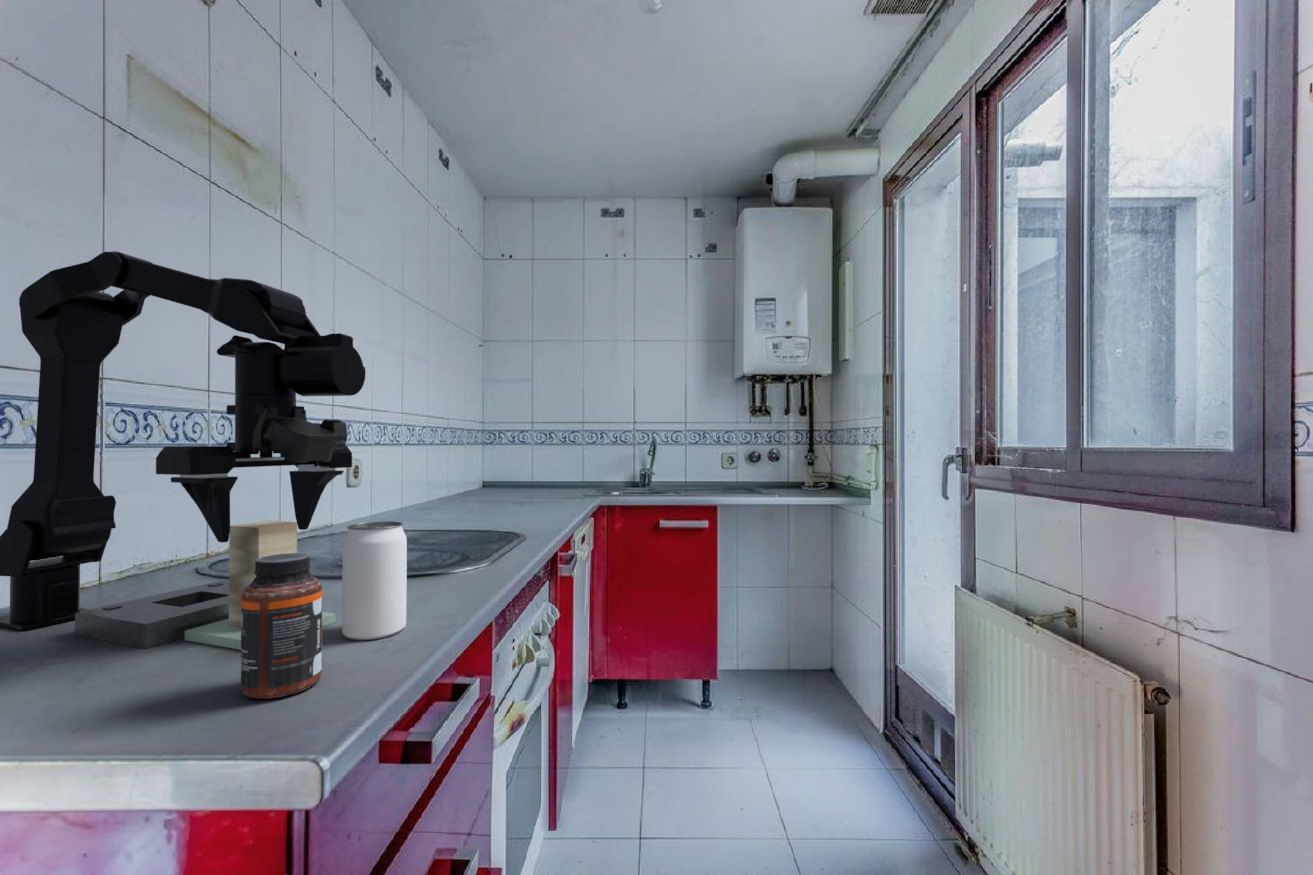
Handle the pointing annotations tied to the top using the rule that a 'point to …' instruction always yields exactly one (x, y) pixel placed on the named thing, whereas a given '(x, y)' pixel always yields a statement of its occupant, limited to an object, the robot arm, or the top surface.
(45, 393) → the robot arm
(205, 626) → the pad
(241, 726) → the top surface
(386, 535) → the can
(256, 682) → the supplement bottle
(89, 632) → the plate
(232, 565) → the peg
